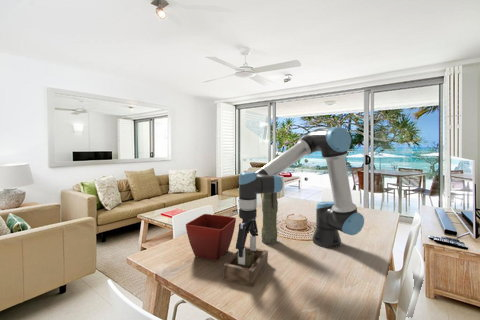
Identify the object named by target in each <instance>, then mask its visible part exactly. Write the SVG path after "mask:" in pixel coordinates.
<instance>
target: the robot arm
mask: <svg viewBox="0 0 480 320" xmlns="http://www.w3.org/2000/svg"><path fill="white" fill-rule="evenodd" d="M351 137H352V136H351V134H350V132H349V131H348V130H347V129H345V128H344V127H341V126H331V127H323V128H322V127H321V128H320V127H319V128H316V129H313V130H312V131H310V132H309V133H307V134H305V135H304V136H302V137H300V138H299V139H298V140H297V142H296V144H294V145H293V146H291V147H290V148H288V149H287V150H285V151H284V152H282V153H281V154H279V155H278V156H277V157H275V158H274V159H272V160H271V161H270V162H268V163H266V164H265V165H264V166H263V167H261V168H259V169H258V170H256V171H242V172H240V173H239V175H238V207H239V209H238V218H240V219H241V220H242V221H241V222H240V223H238V232H237V238H236V244H235V250H237V251H238V264H242V265H245V248H244V246H246V242H247V238H248V234H250V235H249V247H250V250H252V251H256V248H257V237H259V231H258V230H259V229H258V225H257V219H256V218H257V217H258V216H257V211H258V210H257V205H258V202H257V200H258V199H257V198H258V197H257V195H261V194H263V193H276V192H277V193H280V192H281V191H282V190H283V187H284V182H283V178H282V177H281V176H280V174H281V173H282V172H284V171H285V170H286V169H289V168H290V167H291V166H293V164H296V163H297V162H298V161H299V160H301V159H302V158H304V157H305V156H310V155H311V154H313V153H317V152H321V158H323V159H324V160H325V161H326V166H327V171H328V178H329V183H330V189H331V194H332V200H333V201H319V202H318V203H316V204H317V205H316V208H315V210H316V214H315V217H316V218H315V230H314V232H313V234H312V242H313V243H314V244H316V245H317V246H320V247H322V248H332V249H333V248H339V247H341V245H342V239H341V236H340V233H339V232H342V233H343V234H346V235H348V236H356V235H358V234H359V233H360V232H361V231H362V229H363V228H364V225H365V217H364V215H363V214H361V213H360V212H358V206H357V205H356V204H355V203H354V202H353V197H352V191H351V187H350V180H349V174H348V169H347V164H346V162H347V161H346V156H347V155H348V153H349V152H348V150H349V149H350V148H351V145H352V138H351Z"/></svg>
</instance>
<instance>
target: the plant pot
mask: <svg viewBox="0 0 480 320" xmlns="http://www.w3.org/2000/svg"><path fill="white" fill-rule="evenodd" d="M236 221H237V218H236V217H233V216H225V215H219V214H218V215H217V214H209V213H203V214H201V215H199V216H198V217H196V218H194V219H193V220H190V221H189V222H187V223H185V229H186V234H187V238H188V241H189V244H190V247H191V250H192V252H193V254H194V256H195V258H200V259H206V260H210V261H214V262H215V261H216V262H217V261H220V259H222V257H223V256H224V255H225V254H226V253H227V252H228V251H229V250H230V246H231V243H232V240H233V235H234V233H235V226H236Z"/></svg>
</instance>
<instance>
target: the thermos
mask: <svg viewBox="0 0 480 320" xmlns="http://www.w3.org/2000/svg"><path fill="white" fill-rule="evenodd" d="M262 194H263V197H262V201H261V211H262V227H261V242H262V244H265V245H275V244H277V243H278V227H277V224H278V223H277V220H278V212H279V211H278V210H279V209H278V208H279V206H278V204H279V203H278V192H276V193H262Z"/></svg>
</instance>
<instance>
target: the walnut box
mask: <svg viewBox="0 0 480 320" xmlns="http://www.w3.org/2000/svg"><path fill="white" fill-rule="evenodd" d="M244 248H245V251H247V252H248V251H249V253H250V252H251V251H252V250H250V246H246V245H245V246H244ZM252 252H253V253H254V254H255V255H254V259H253V264H252V266H251V268H245V267H241V266H238V264H237V251H236V252H235V253H234V254H233V255H232V256H230V258H228V260H227V261H225V263H224V264H223V280H225V281H229V282H233V283H237V284H240V285H245V286H248V287H254V285H255V284H256V282H257V281H258V280H259V278H260V276H261V275H262V273H263V272H264V269H265V268H266V267H267V265H268V264H269V263H268V262H269V261H268V260H269V259H268V254H269V253H268V252H269V251H268V250H267V249H260V248H257V247H256V251H252Z"/></svg>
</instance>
